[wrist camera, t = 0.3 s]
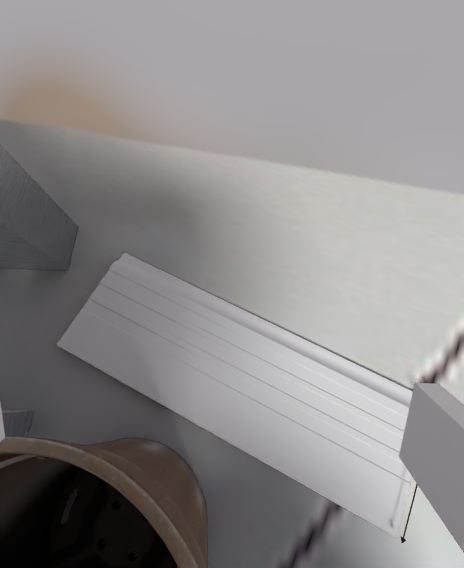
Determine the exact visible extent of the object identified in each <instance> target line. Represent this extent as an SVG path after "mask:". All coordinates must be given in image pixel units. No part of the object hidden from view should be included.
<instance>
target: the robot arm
mask: <svg viewBox="0 0 464 568" xmlns="http://www.w3.org/2000/svg"><path fill="white" fill-rule="evenodd" d="M4 438H5V432H4V425H3V418H2V410H1V403H0V442H1V441H2V440H3V439H4ZM399 458H400V459H401V461H402V462H403V464H404V465H405V467H406V468H407V470H408V471H409V472H410V474H411V475H412V477H413V478H414V480H415V481H416V483H417V484H418V486H419V487H420V489H421V490H422V492H423V493H424V495H425V496H426V498H427V499H428V501H429V502H430V503H431V505H432V506H433V508H434V509H435V511H436V512H437V514H438V515H439V517H440V518H441V520H442V521H443V523H444V524H445V526H446V527H447V529H448V530H449V532H450V533H451V534H452V536H453V537H454V539H455V540H456V542H457V543H458V545H459V546H460V548H461V549H462V551H463V552H464V404H462V403H461V402H460V401H459V400H458V399H456V398H455V397H454V396H453V395H452V394H450V393H449V392H448V391H447V390H446V389H444V388H443V387H442V386H441V385H440V384H428V383H415V384H414V388H413V393H412V398H411V402H410V407H409V412H408V416H407V421H406V426H405V430H404V435H403V440H402V444H401V449H400V454H399Z"/></svg>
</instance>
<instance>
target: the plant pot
mask: <svg viewBox="0 0 464 568" xmlns="http://www.w3.org/2000/svg"><path fill="white" fill-rule="evenodd" d="M75 488H78V492H77V493H78V495H77V496H76V499H75V502H74V503H73V506H72V509H71V512H70V514H69V518H68V521H67V523H66V525H64V526H62V525H61V524H60V519H61V516H62V512H63V510H64V507H65V505H66V503H67V501H68V499H69V497H70V495H71V493H72V492H73V491H74V490H75ZM115 500H118V501H120V503H121V506H120V508H119V509H117V510H114V509H113V508H112V504H113V502H114V501H115ZM143 515H144V517H145V518H146V519H147V520H148V522H145V521H144V520H143ZM100 539H105V540H106V542H107V543H106V546H105V548H104V549H99V548H98V542H99V540H100ZM132 551H135V552H137V553H138V557H137V559H136V560H135V561H134V562H131V561H130V560H129V558H128V557H129V554H130V553H131V552H132ZM178 567H179V568H208V553H207V511H206V504H205V500H204V496H203V494H202V491H201V489H200V486H199V484H198V482H197V480H196V478H195V476H194V474H193V471H192V469H191V468H190V467H189V465H188V464H187V463H186V462H185V461H184V460H183V459H182V458H181V457H180V456H179V455H178V454H177V453H176V452H174V451H173V450H171V449H170V448H168V447H166V446H165V445H163V444H160V443H158V442H155V441H151V440H147V439H141V438H127V439H121V440H116V441H112V442H106V443H100V444H94V445H80V444H72V443H65V442H61V441H57V440H51V439H44V438H34V437H5V438H4V439H3V440H2V441H1V442H0V568H178Z"/></svg>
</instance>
